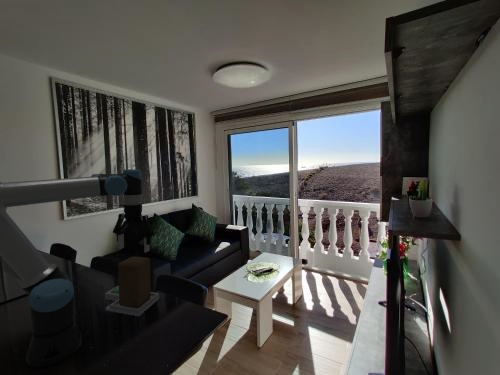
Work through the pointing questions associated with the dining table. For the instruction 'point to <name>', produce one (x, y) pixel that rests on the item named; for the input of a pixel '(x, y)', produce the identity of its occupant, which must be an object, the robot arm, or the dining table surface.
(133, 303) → the wooden block
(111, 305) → the shallow gray rectangular tray
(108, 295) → the button housing
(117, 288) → the button
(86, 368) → the dining table surface
